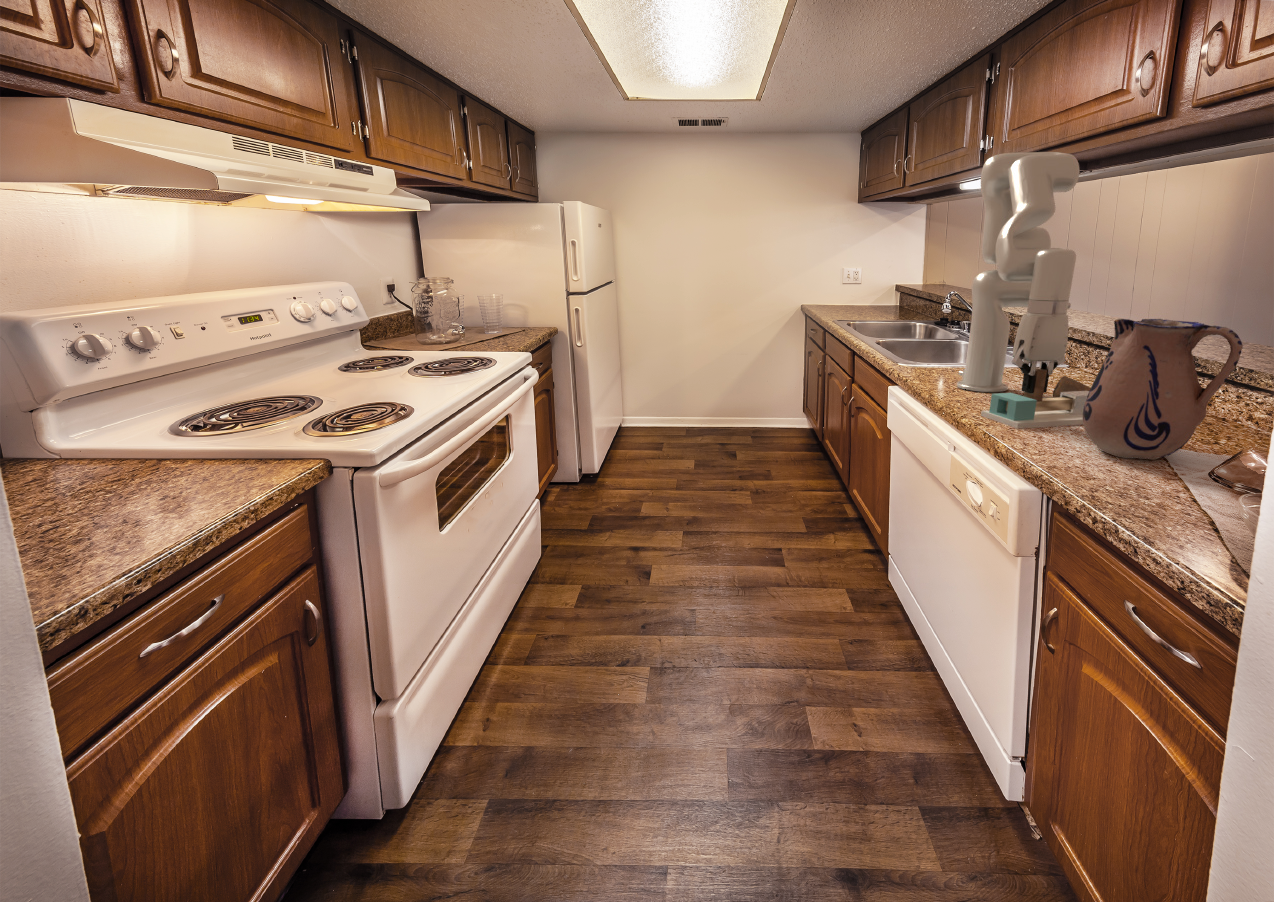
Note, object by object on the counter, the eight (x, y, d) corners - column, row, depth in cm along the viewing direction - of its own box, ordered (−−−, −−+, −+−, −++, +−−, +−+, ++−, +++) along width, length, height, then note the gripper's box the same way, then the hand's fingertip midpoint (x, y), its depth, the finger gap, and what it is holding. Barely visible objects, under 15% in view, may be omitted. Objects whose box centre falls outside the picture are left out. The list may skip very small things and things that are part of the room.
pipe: (1138, 386, 170) (1106, 372, 179) (1080, 388, 167) (1050, 374, 176) (1129, 410, 173) (1098, 395, 182) (1072, 413, 170) (1043, 398, 178)
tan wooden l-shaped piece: (1069, 406, 160) (1076, 366, 157) (1079, 409, 157) (1087, 368, 154) (1004, 410, 156) (1010, 369, 154) (1013, 413, 154) (1020, 371, 151)
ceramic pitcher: (1083, 436, 143) (1106, 314, 136) (1213, 454, 131) (1246, 321, 123) (1069, 455, 130) (1093, 322, 123) (1212, 478, 118) (1248, 330, 110)
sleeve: (1083, 409, 161) (1087, 390, 160) (1099, 413, 157) (1102, 394, 156) (1057, 410, 160) (1060, 392, 159) (1072, 415, 156) (1075, 396, 155)
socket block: (1008, 411, 160) (1011, 392, 158) (1033, 419, 152) (1036, 400, 151) (989, 412, 159) (991, 393, 157) (1013, 420, 151) (1016, 401, 150)
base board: (1077, 410, 166) (1078, 405, 165) (1119, 422, 154) (1120, 417, 154) (980, 415, 161) (981, 410, 161) (1017, 428, 150) (1018, 423, 149)
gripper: (1065, 306, 155) (1052, 387, 160) (1002, 307, 152) (990, 390, 157) (1093, 309, 147) (1077, 393, 153) (1027, 311, 144) (1013, 397, 150)
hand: (1033, 391), depth 155 cm, fingers closed on tan wooden l-shaped piece, 2 cm apart
